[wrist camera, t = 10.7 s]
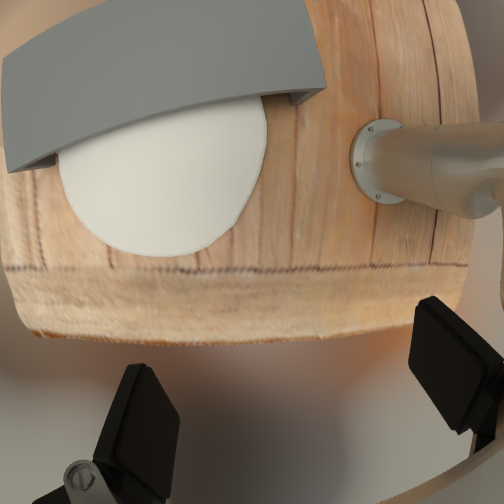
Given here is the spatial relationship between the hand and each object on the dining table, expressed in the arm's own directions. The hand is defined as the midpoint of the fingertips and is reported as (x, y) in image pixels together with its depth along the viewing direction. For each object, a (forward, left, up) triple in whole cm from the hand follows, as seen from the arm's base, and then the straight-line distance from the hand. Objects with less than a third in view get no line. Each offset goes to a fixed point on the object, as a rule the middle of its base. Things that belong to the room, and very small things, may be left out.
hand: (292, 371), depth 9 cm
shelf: (+8, -21, -30) cm, 37 cm away
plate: (+8, -11, -30) cm, 33 cm away
